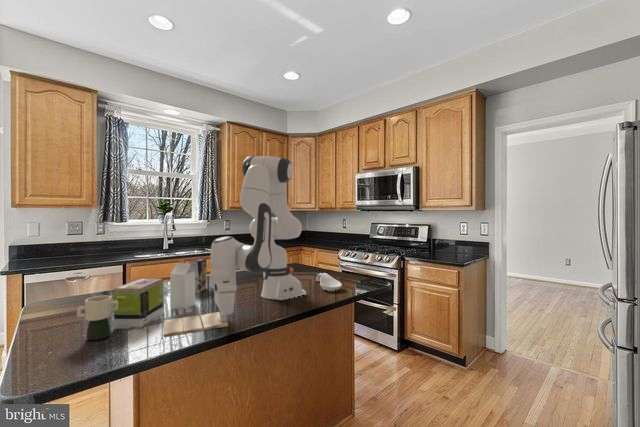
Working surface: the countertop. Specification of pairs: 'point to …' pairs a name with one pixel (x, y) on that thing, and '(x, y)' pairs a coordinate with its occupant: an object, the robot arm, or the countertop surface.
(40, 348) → the countertop surface
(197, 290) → the coffee box
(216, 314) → the board
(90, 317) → the character mug
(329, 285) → the spoon rest
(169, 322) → the laid floor
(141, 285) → the tea box
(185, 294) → the milk carton
